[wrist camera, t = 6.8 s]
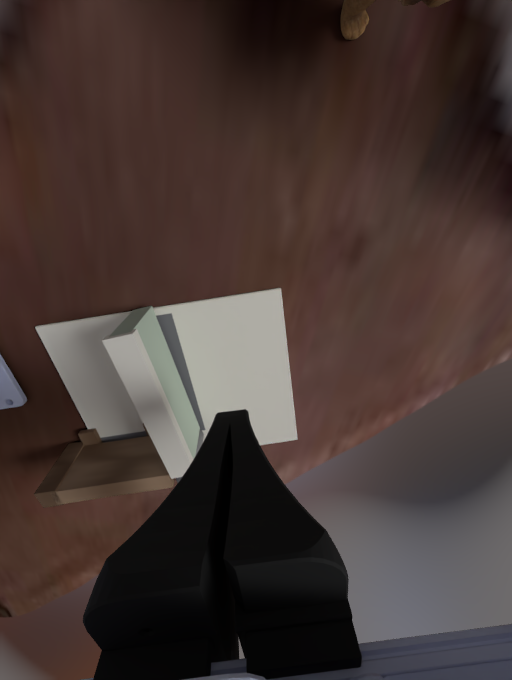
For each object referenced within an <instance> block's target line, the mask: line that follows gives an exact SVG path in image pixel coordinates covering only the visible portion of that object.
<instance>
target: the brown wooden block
mask: <svg viewBox="0 0 512 680" xmlns="http://www.w3.org/2000/svg"><path fill="white" fill-rule="evenodd" d="M143 427H144V429H145V432H146V434H147V436H145V437H138V438H132V439H125V440H119V441H112V442H106V443H103V442H102V440H101V438H100V436H99V434H98V432H97V430H96V428H93V429H87V430H80V432H79V433H78V435H79V437H80V439H81V441H82V442H76V443H70V444H68V445H67V447H66V448H65V450H64V451H63V453H62V454H61V455H60V457H59V458H58V460H57V461H56V463H55V464H54V466H53V467H52V468H51V470H50V471H49V473H48V474H47V476H46V477H45V479H44V480H43V482H42V483H41V484H40V486H39V487H38V489H37V490H36V492H35V493H34V495H35V496H36V498H37V499H38V500H39V502H40V503H41V505H42V506H43V507H44V508H45V507H52V506H59V505H64V504H65V503H72V502H78V501H85V500H92V499H98V498H105V497H112V496H118V495H125V494H132V493H138V492H145V491H152V490H158V489H165V488H172V487H173V485H174V481H175V478H173V479H171V477H170V475H169V473H168V471H167V469H166V467H165V465H164V463H163V461H162V459H161V457H160V455H159V453H158V451H157V449H156V447H155V445H154V443H153V441H152V439H151V437H150V435H149V433H148V431H147V429H146V427H145V425H144V423H143Z"/></svg>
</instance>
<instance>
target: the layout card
mask: <svg viewBox="0 0 512 680" xmlns="http://www.w3.org/2000/svg"><path fill="white" fill-rule="evenodd" d="M153 310H154V312H155V315H156V317H157V320H158V322H159V325H160V327H161V330H162V332H163V335H164V338H165V340H166V343H167V345H168V348H169V350H170V353H171V355H172V358H173V360H174V363H175V365H176V368H177V371H178V373H179V376H180V378H181V381H182V383H183V386H184V388H185V391H186V393H187V396H188V399H189V401H190V404H191V406H192V409H193V411H194V414H195V416H196V419H197V421H198V424H199V426H200V430H201V431H202V432H203V433H204V438H203V442H204V440H205V438H206V436H207V434H208V432H209V430H210V427H211V425H212V423H213V421H214V418H215V415H216V414H217V413H219V412H227V411H235V410H243V409H246V410H247V411H248V413H249V419H250V423H251V426H252V429H253V431H254V434H255V436H256V438H257V440H258V442H259V445H265V444H271V443H278V442H285V441H291V440H298V439H297V430H296V421H295V412H294V403H293V394H292V385H291V376H290V367H289V358H288V348H287V339H286V330H285V321H284V312H283V303H282V294H281V288H275V289H269V290H262V291H256V292H249V293H243V294H237V295H230V296H224V297H218V298H211V299H205V300H199V301H192V302H186V303H180V304H173V305H167V306H160V307H154V308H153ZM131 312H132V311H129V312H122V313H116V314H110V315H103V316H97V317H91V318H84V319H78V320H71V321H65V322H59V323H52V324H46V325H40V326H36V327H35V328H36V330H37V332H38V334H39V336H40V338H41V340H42V342H43V344H44V346H45V348H46V350H47V352H48V353H49V355H50V357H51V359H52V361H53V363H54V365H55V367H56V369H57V371H58V373H59V375H60V377H61V378H62V380H63V382H64V384H65V386H66V388H67V390H68V392H69V394H70V396H71V398H72V400H73V402H74V403H75V405H76V407H77V409H78V411H79V413H80V415H81V417H82V419H83V421H84V423H85V425H86V427H87V428H88V429H93V428H96V430H97V432H98V434H99V436H100V438H101V440H102V442H103V443H106V442H112V441H119V440H125V439H132V438H138V437H145V436H147V434H146V432H145V429H144V427H143V421H142V419H141V417H140V415H139V413H138V411H137V409H136V407H135V405H134V403H133V401H132V399H131V397H130V395H129V393H128V391H127V389H126V387H125V386H124V384H123V382H122V380H121V378H120V376H119V374H118V372H117V370H116V368H115V366H114V364H113V362H112V360H111V358H110V356H109V354H108V352H107V350H106V348H105V346H104V344H103V342H102V340H103V339H104V338H105V337H106V336H107V335H111V334H112V332H113V331H114V330H115V329H116V328H117V327H118V326H119V325H120V324H121V323H122V322H123V321H124V320H125V318H126V317H127V316H128V315H129V314H130V313H131Z"/></svg>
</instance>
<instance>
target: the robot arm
mask: <svg viewBox="0 0 512 680" xmlns="http://www.w3.org/2000/svg"><path fill="white" fill-rule="evenodd" d="M11 400H12V401H11ZM26 402H27V398H26V396H25V394H24V392H23V391H22V389H21V387H20V386H19V384H18V382H17V381H16V379H15V378H14V376H13V374H12V373H11V371H10V369H9V368H8V366H7V364H6V363H5V361H4V359H3V358H2V356H1V354H0V409H6V408H13V407H19V406H23V405H24V404H25V403H26ZM347 595H348V574H347V570H346V568H345V565H344V563H343V560H342V558H341V556H340V554H339V552H338V550H337V548H336V546H335V545H334V543H333V541H332V539H331V538H330V537H329V534H328V532H327V531H326V530H325V529H324V528H323V527H322V526H321V525H320V524H319V523H318V522H317V521H316V520H315V519H314V518H313V517H312V516H311V515H310V514H309V513H308V512H307V510H306V509H305V508H304V507H303V506H302V505H301V504H300V503H299V502H298V500H297V499H296V498H295V497H294V496H293V494H292V493H291V492H290V491H289V490H288V488H287V487H286V486H285V485H284V483H283V482H282V480H281V479H280V478H279V476H278V475H277V473H276V472H275V470H274V469H273V467H272V466H271V464H270V463H269V461H268V459H267V458H266V456H265V454H264V452H263V450H262V448H261V447H260V445H259V442H258V440H257V438H256V436H255V434H254V431H253V429H252V426H251V423H250V419H249V413H248V411H247V410H246V409H243V410H235V411H227V412H219V413H217V414H216V415H215V418H214V421H213V423H212V425H211V427H210V430H209V432H208V434H207V436H206V438H205V440H204V442H203V444H202V445H201V447H200V449H199V451H198V453H197V454H196V456H195V458H194V459H193V461H192V463H191V464H190V466H189V468H188V469H187V471H186V472H185V474H184V475H183V477H182V478H181V479H180V481H179V482H178V484H177V485H176V486H175V488H174V489H173V490H172V491H171V493H170V494H169V495H168V497H167V498H166V499H165V500H164V502H163V503H162V504H161V505H160V506H159V507H158V509H157V510H156V511H155V512H154V513H153V514H152V515H151V516H150V517H149V518H148V519H147V521H146V522H145V523H144V524H143V525H142V526H141V527H140V528H139V529H138V530H137V531H136V532H135V533H134V534H133V535H132V536H131V537H130V538H129V539H128V540H127V541H126V542H125V543H123V544H122V545H121V546H120V547H119V548H118V549H117V550H116V551H115V552H114V553H113V554H111V555H110V556H109V557H108V558H107V559H106V561H105V563H104V566H103V568H102V570H101V572H100V574H99V576H98V578H97V581H96V583H95V585H94V588H93V591H92V594H91V596H90V599H89V602H88V604H87V607H86V610H85V613H84V616H83V623H84V626H85V628H86V630H87V632H88V633H89V634H90V636H91V637H92V638H93V639H94V641H95V642H96V643H97V644H98V646H99V647H100V648H101V649H102V652H101V655H100V659H99V662H98V666H97V669H96V672H95V675H94V678H89V679H82V680H512V624H509V625H501V626H494V627H485V628H477V629H470V630H462V631H454V632H447V633H439V634H431V635H424V636H415V637H407V638H400V639H392V640H384V641H376V642H369V643H361V644H358V641H357V637H356V634H355V630H354V626H353V623H352V613H351V609H350V605H349V602H348V598H347V597H348V596H347ZM238 636H239V639H240V643H241V646H242V649H243V653H244V656H245V658H244V659H239V642H238Z"/></svg>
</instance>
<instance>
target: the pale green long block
mask: <svg viewBox="0 0 512 680" xmlns="http://www.w3.org/2000/svg"><path fill="white" fill-rule="evenodd" d="M102 342H103V344H104V346H105V348H106V350H107V352H108V354H109V356H110V358H111V360H112V362H113V364H114V366H115V368H116V370H117V372H118V374H119V376H120V378H121V380H122V382H123V384H124V386H125V387H126V389H127V391H128V393H129V395H130V397H131V399H132V401H133V403H134V405H135V407H136V409H137V411H138V413H139V415H140V417H141V419H142V421H143V423H144V425H145V427H146V429H147V431H148V433H149V435H150V437H151V439H152V441H153V443H154V445H155V447H156V449H157V451H158V453H159V455H160V457H161V459H162V461H163V463H164V465H165V467H166V469H167V471H168V473H169V475H170V477H171V479H173V478H176V480H177V482H179V481H180V479H181V478H182V477H183V475H184V474H185V472H186V471H187V469H188V468H189V466H190V464H191V463H192V461H193V459H194V458H195V456H196V454H197V453H198V451H199V449H200V447H201V445H202V444H203V438H204V433H203V432H202V431H201V430H200V426H199V424H198V421H197V419H196V416H195V414H194V411H193V409H192V406H191V404H190V401H189V399H188V396H187V393H186V391H185V388H184V386H183V383H182V381H181V378H180V376H179V373H178V371H177V368H176V365H175V363H174V360H173V358H172V355H171V353H170V350H169V348H168V345H167V343H166V340H165V338H164V335H163V332H162V330H161V327H160V325H159V322H158V320H157V317H156V315H155V312H154V310H153V307H152V306H148V307H144V308H140V309H135V310H133V311H132V312H131V313H130V314H129V315H128V316H127V317H126V318H125V320H124V321H123V322H122V323H121V324H120V325H119V326H118V327H117V328H116V329H115V330H114V331H113V332H112V334H111V335H107V336H106V337H105V338H104V339H103V340H102Z"/></svg>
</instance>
